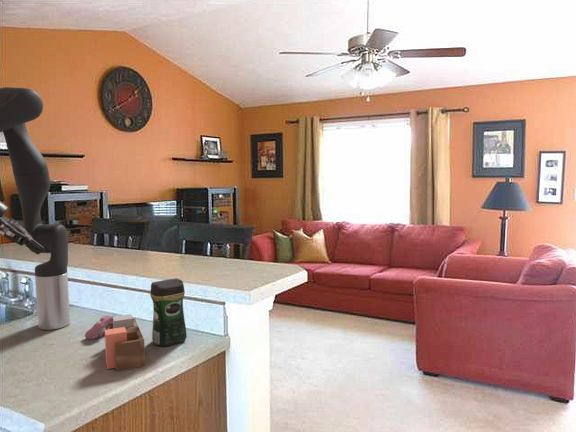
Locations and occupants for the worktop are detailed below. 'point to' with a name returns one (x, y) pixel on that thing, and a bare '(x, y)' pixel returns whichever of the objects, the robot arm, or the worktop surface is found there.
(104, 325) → the video game controller
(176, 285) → the coffee jar
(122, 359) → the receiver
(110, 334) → the salmon orange block
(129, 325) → the light grey block
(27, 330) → the worktop surface
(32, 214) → the robot arm
